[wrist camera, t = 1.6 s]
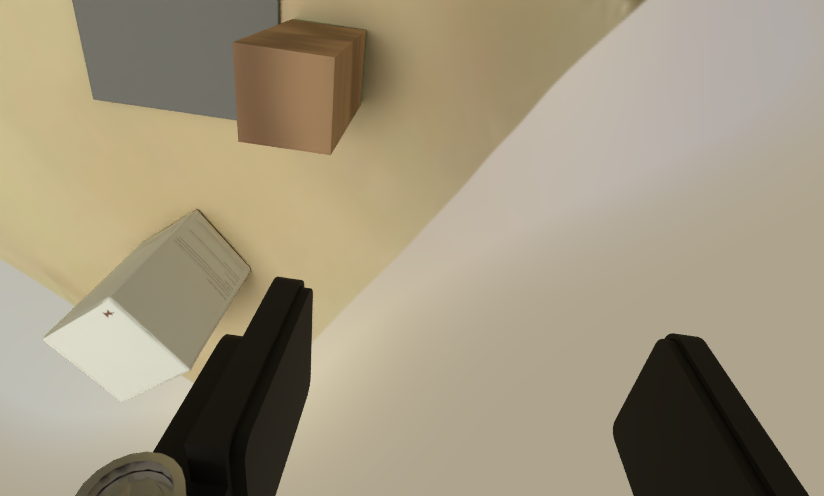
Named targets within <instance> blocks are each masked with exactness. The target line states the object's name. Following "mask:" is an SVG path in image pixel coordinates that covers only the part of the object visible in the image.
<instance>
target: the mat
mask: <svg viewBox="0 0 824 496" xmlns="http://www.w3.org/2000/svg"><path fill="white" fill-rule="evenodd" d="M72 2H73V7H74V11H75V16H76V20H77V25H78V30H79V34H80V39H81V44H82V48H83V53H84V58H85V62H86V67H87V72H88V76H89V81H90V86H91V90H92V95H93V99H94V100H101V101H108V102H115V103H122V104H129V105H135V106H142V107H149V108H156V109H163V110H170V111H177V112H183V113H190V114H197V115H204V116H211V117H218V118H224V119H231V120H237V111H236V95H235V79H234V63H233V46H232V42H234V41H237V40H239V39H242V38H245V37H247V36H250V35H252V34H255V33H258V32H260V31H263V30H266V29H268V28H271V27H273V26H276V25H279V24H280V0H72Z"/></svg>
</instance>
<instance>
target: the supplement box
mask: <svg viewBox="0 0 824 496" xmlns="http://www.w3.org/2000/svg"><path fill="white" fill-rule="evenodd" d="M250 270H251V269H250V267H249V266H248V265H247V264H246V263H245V262H244V261H243V260H242V259H241V258H240V257H239V255H238V254H237V253H236V252H235V251H234V250H233V249H232V248H231V247H230V246H229V244H228V243H227V242H226V241H225V240H224V239H223V238H222V237H221V236H220V235H219V233H218V232H217V231H216V230H215V229H214V228H213V227H212V226H211V225H210V223H209V222H208V221H207V220H206V219H205V218H204V217H203V216H202V215H201V213H200V212H199V211H198V210H195V211H193V212H192V213H190V214H188V215H187V216H185V217H184V218H182V219H180V220H179V221H177V222H175V223H174V224H172V225H170V226H169V227H167V228H166V229H164V230H162V231H161V232H159V233H157V234H156V235H154V236H152V237H151V238H149V239H147V240H146V241H144V242H143V243H141V244H140V245H139V246H138V247H137V248H136V249H135V250H134V251H133V252H132V253H131V254H130V255H129V256H128V257H127V258H126V259H125V260H124V261H123V262H122V263H120V264H119V265H118V266H117V267H116V268H115V269H114V270H113V271H112V272H111V273H110V274H109V275H108V276H107V277H106V278H105V279H104V280H103V281H102V282H101V283H100V284H99V285H97V286H96V287H95V288H94V289H93V290H92V291H91V292H90V293H89V294H88V295H87V296H86V297H85V298H84V299H83V300H82V301H81V302H80V303H79V304H77V305H76V306H75V307H74V308H73V309H72V310H71V311H70V312H69V313H68V314H67V315H66V316H65V317H64V318H63V319H62V320H61V321H60V322H59V323H58V324H57V325H56V326H55V327H54V328H53V329H51V330H50V331H49V332H48V333H47V334H46V335H45V336H44V337H43V341H45V342H46V343H47V344H48V345H50V346H51V347H52V348H53V349H55V350H56V351H57V352H59V353H60V354H61V355H63V356H64V357H65V358H66V359H68V360H69V361H70V362H71V363H73V364H74V365H75V366H76V367H78V368H79V369H80V370H81V371H83V372H84V373H85V374H86V375H88V376H89V377H90V378H92V379H93V380H94V381H95V382H97V383H98V384H99V385H100V386H102V387H103V388H104V389H105V390H107V391H108V392H109V393H110V394H112V395H113V396H114V397H115V398H116V399H118V400H119V401H120V402H123V401H125V400H128V399H130V398H132V397H134V396H136V395H138V394H140V393H142V392H144V391H146V390H149V389H150V388H153V387H155V386H157V385H159V384H162V383H164V382H166V381H169V380H171V379H173V378H176V377H178V376H180V375H182V374H185V373H187V372H189V371H190V370H191V369H192V367H193V365H194V363H195V361H196V359H197V358H198V356H199V354H200V352H201V351H202V349H203V347H204V346H205V344H206V342H207V341H208V339H209V338H210V336H211V334H212V333H213V331H214V330H215V328H216V326H217V325H218V323H219V321H220V320H221V318H222V317H223V315H224V313H225V312H226V310H227V308H228V307H229V305H230V304H231V302H232V300H233V299H234V297H235V295H236V294H237V292H238V290H239V289H240V287H241V285H242V283H243V282H244V280H245V278H246V277H247V275H248V273H249V272H250Z"/></svg>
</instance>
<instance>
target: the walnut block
mask: <svg viewBox="0 0 824 496" xmlns="http://www.w3.org/2000/svg"><path fill="white" fill-rule="evenodd" d="M365 42H366V30H363V29H356V28H349V27H343V26H336V25H329V24H322V23H316V22H309V21H302V20H296V19H295V20H294V19H292V20H289V21H286V22H284V23H281V24H279V25H276V26H273V27H271V28H268V29H266V30H263V31H260V32H258V33H255V34H252V35H250V36H247V37H245V38H242V39H239V40H237V41H234V42H232V46H233V63H234V79H235V95H236V111H237V127H238V142H245V143H252V144H258V145H265V146H272V147H279V148H286V149H293V150H300V151H307V152H313V153H320V154H327V155H331V154H332V152H333V150H334V149H335V147H336V145H337V144H338V142H339V140H340V139H341V137H342V135H343V134H344V132H345V130H346V128H347V127H348V125H349V123H350V122H351V120H352V118H353V117H354V115H355V113H356V112H357V110H358V108H359V107H360V105H361V97H362V83H363V69H364V55H365Z"/></svg>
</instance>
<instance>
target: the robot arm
mask: <svg viewBox="0 0 824 496" xmlns="http://www.w3.org/2000/svg"><path fill="white" fill-rule="evenodd" d="M312 305H313V290H312V289H311V288H304V281H303V280H297V279H290V278H283V277H275V279H274V280H273V282H272V284H271V286H270V287H269V289H268V291H267V293H266V295H265V297H264V298H263V300H262V302H261V304H260V306H259V308H258V310H257V311H256V313H255V315H254V317H253V319H252V321H251V322H250V324H249V326H248V328H247V330H246V332H245V333H244V335H243V336H236V335H229V334H226V335H225V336H223V337H222V338H221V340H220V341H219V343H218V344H217V346H216V348H215V349H214V351H213V353H212V354H211V356H210V358H209V359H208V361H207V363H206V364H205V366H204V368H203V369H202V371H201V373H200V374H199V376H198V378H197V379H196V381H195V383H194V384H193V386H192V388H191V390H190V391H189V393H188V394H187V396H186V398H185V399H184V401H183V403H182V405H181V406H180V408H179V410H178V411H177V413H176V415H175V416H174V418H173V419H172V421H171V423H170V425H169V426H168V428H167V430H166V431H165V433H164V435H163V436H162V438H161V440H160V441H159V443H158V445H157V446H156V448H155V450H154V451H153V452H142V453H134V454H129V455H127V456H124V457H121V458H119V459H116V460H113V461H112V462H110V463H109V464H107V465H105V466H104V467H102V468H101V469H99V470H97V471H96V472H95V473H94V474H93V475H92V476H91V477H90V478H89V479H88V480H87V481H85V482H84V483H83V485H82V486H81V488H80V489H79V491H78V492H77V494H76V495H75V496H275V495H276V491H277V489H278V486H279V483H280V479H281V476H282V473H283V470H284V467H285V464H286V461H287V458H288V455H289V452H290V448H291V445H292V442H293V439H294V436H295V433H296V430H297V426H298V423H299V420H300V417H301V414H302V411H303V408H304V404H305V401H306V398H307V395H308V391H309V386H310V377H311V376H310V375H311V341H312ZM613 436H614V440H615V443H616V446H617V449H618V452H619V455H620V458H621V461H622V464H623V466H624V469H625V472H626V475H627V478H628V481H629V483H630V486H631V489H632V492H633V495H634V496H809V495H808V493H807V492H806V490H805V489H804V487H803V486H802V485H801V483H800V482H799V480H798V479H797V477H796V476H795V474H794V473H793V471H792V470H791V468H790V467H789V465H788V464H787V462H786V461H785V460H784V458H783V456H782V455H781V453H780V452H779V451H778V449H777V448H776V446H775V445H774V443H773V442H772V440H771V439H770V437H769V436H768V434H767V433H766V431H765V430H764V429H763V427H762V425H761V424H760V422H759V421H758V419H757V418H756V416H755V415H754V414H753V412H752V411H751V409H750V408H749V406H748V405H747V403H746V402H745V400H744V399H743V397H742V396H741V394H740V393H739V391H738V390H737V388H736V387H735V385H734V384H733V382H732V381H731V380H730V378H729V377H728V375H727V374H726V372H725V371H724V369H723V368H722V366H721V365H720V363H719V362H718V360H717V359H716V357H715V356H714V354H713V353H712V351H711V350H710V349H709V347H708V346H707V344H706V342H705V341H704V340H703V339H701V338H699V337H694V336H687V335H681V334H674V333H673V334H669V335H667V336H666V337H665V339H660V340H658V341H657V343H656V344H655V346H654V348H653V350H652V352H651V353H650V355H649V358H648V359H647V361H646V363H645V365H644V367H643V369H642V371H641V372H640V374H639V376H638V378H637V380H636V382H635V384H634V386H633V388H632V390H631V391H630V393H629V395H628V397H627V399H626V401H625V403H624V404H623V407H622V408H621V410H620V412H619V414H618V416H617V418H616V420H615V422H614V426H613Z"/></svg>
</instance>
